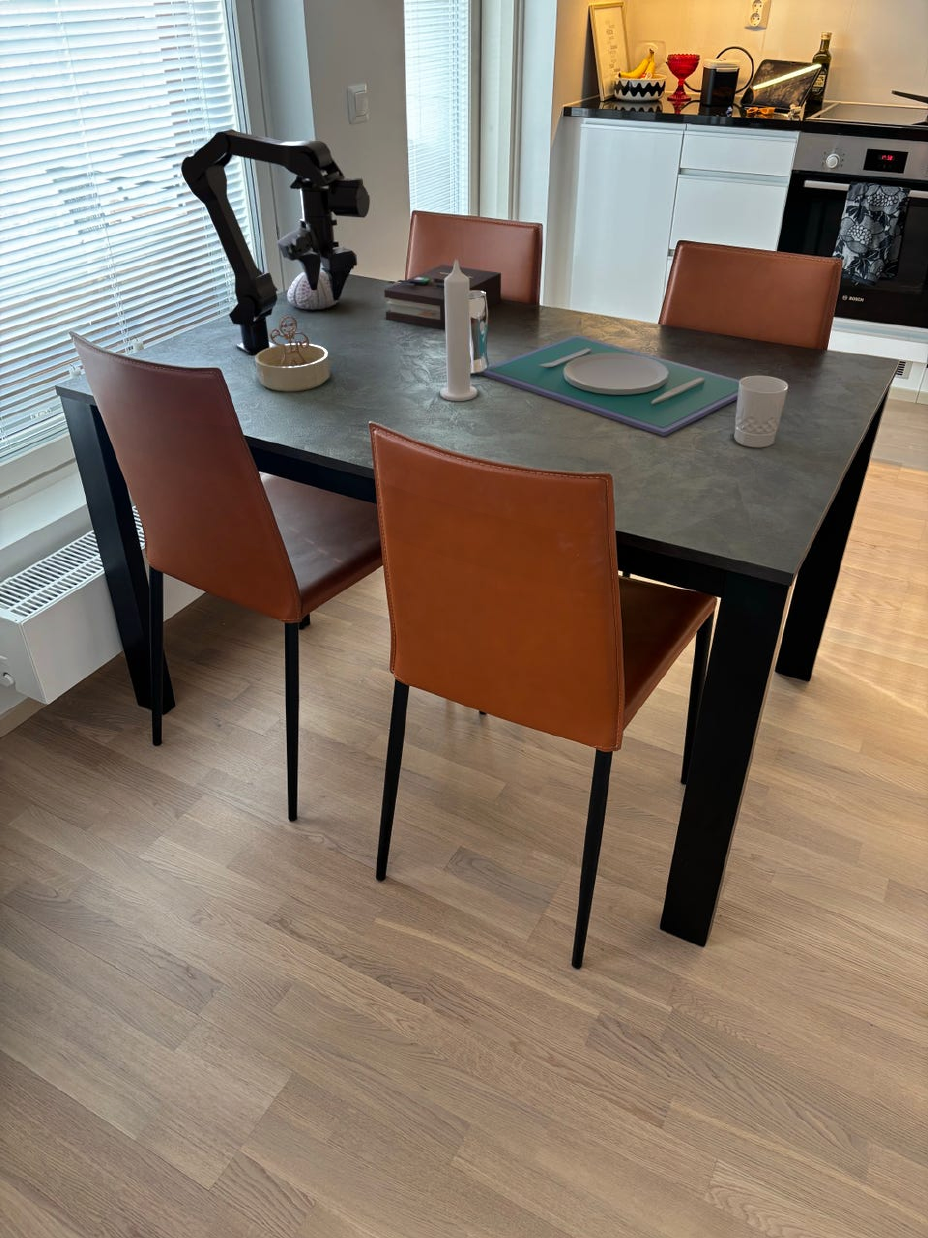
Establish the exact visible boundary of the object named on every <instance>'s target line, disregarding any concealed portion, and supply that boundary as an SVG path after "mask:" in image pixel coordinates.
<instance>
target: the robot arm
mask: <svg viewBox="0 0 928 1238" xmlns="http://www.w3.org/2000/svg"><path fill="white" fill-rule="evenodd" d="M234 156H235V157H240V158H245V159H250V160H254V161H258V162H264V163H268V164H272V165H277V166H279V167H281V168H284V169H285V170H286V171H288V172H289V174H293V175H295V176H296V177H295V178H294V180H293V181H292V182H291V183H290V184H289V188H290V189H291V190H299V191H300V200H301V212H302V218H300V219H299V221H298V223H297V224H298V228H297V229H296V230H293V231H291V232H289V233H288V234H286V235H285V236H283V237H281V238H279V239H278V240H277V241H276V244H277V245H278V246H277V247H278V248H279V250H280V252H281V254H282V257H283V258H284V259H288V260H289V261H293V262H294V261H297V262H298V263H299V264H300V265H301V267H302V270H303V272H305V275H306V277H307V280H308V283H309V285H310V288H311V290H312V291H314V290H317V286H318V280H319V273H320V271H321V270H322V272H324V273H327V274H328V277H329V282H330V287H331V293H332V297H333V300H334V301H337V300H338V301H340V300H339V298H340V299H341V297H340V295H342V294H343V290H344V287H345V285H346V283H347V279H348V278H349V275H350V273H351V271H352V270H353V269H354V268H355V267H356V266H357V265H358V258H357V257H358V256H357V253H356V252H355V251H353V250H351V249H349V248H346V247H340V244H339V243H340V242H339V241H338V240H336V239H335V231H334V226H335V227H336V226H338V219H337V218H333V214H334V216H337V217H350V218H362V219H363V218H366V217H367V215H369V210H370V203H371V199H370V198H371V197H370V195H369V192H368V189H367V187H366V186H365V185H364V179H363V178H362V177H361V178H360V177H356V178H355V177H354V178H346V176H345V175H344V173H343V171H342V170H341V168H340V167H339V166H338V164H337V162H336V161H335V160H334V158H333V155H332V153H331V150H330V149H329V147H328V144H326V143H325V142H323V141H321V140H301V141H300V140H299V141H284V140H280V139H274V138H270V137H264V136H260V135H255V134H251V133H246V132H241V131H237V130H235V129H233V128H227V129H223V130H220V131H217V132H215V134H214V135H213V136H212V137H211V138H210V139H209V141H207V142H206V143H205V144H203V146H201V147H200V148H199V149H198V150H196V151H195V153H193V154H191V155H187V156H186V157H184V158H183V160H182V161H181V166H180V173H181V176H182V178H183V181H184V183H185V184H186V185H187V187H188V189H189V191H190V193H192V194H193V196H194V197H195V198H197V199H198V201H200V202H201V204H203V206H204V207H205V209H206V210H205V211H206V212H207V214H208V217H209V219H210V221H211V224H212V226H213V228H214V231H215V233H216V236H217V237H218V241H219V242H220V244H221V247H222V249H223V252H224V254H225V256H226V258H227V261H228V263H229V265H230V268H231V270H232V272H233V276H234V295H235V298H236V300H237V304H236V305H235V306H234V308H233V309H232V310H231V311H230V313H229V314H228V315H229V318H230V321H231V322H232V324H233V325H238V326H239V330H240V336H241V343H237V344H236V348H238V349H240V350H241V351H243V352H245V353H247V354H248V355H252V354H256V353H257V354H258V353H259V352H261V351H262V350H265V349H267V348H270V347H274V346H277V344H275V343H273V342H270V336H269V331H268V323H267V317H270V316H271V315H272V314H273V309H274V307H275V306H276V304H277V301H278V293H277V291H279V289H278V288H277V286H276V285H275V283H274V281H273V277H272V274H271V272H269V271H267V272H265V273H263V271H261V269H259V267H258V266H257V264H256V262H255V259H254V258H253V255H252V252H251V250H250V247H249V246H248V243H247V241H246V238H245V236H244V233H243V231H242V228H241V226H240V224H239V221H238V220H237V219H238V218H237V217H236V215H235V212H234V210H233V208H232V205H231V203H230V200H229V198H228V177H227V174H226V171H225V168H226V167H227V166H228V165H229V164H230V163H231V162H232V159H233V158H234ZM321 265H322V267H321ZM341 293H342V294H341Z"/></svg>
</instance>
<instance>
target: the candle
mask: <svg viewBox="0 0 928 1238" xmlns="http://www.w3.org/2000/svg"><path fill="white" fill-rule="evenodd" d="M453 266H454V268H453V271H452V273H451V274H449V275H448V276H447V277H446V278H445V279H444V292H445V329H444V331H445V361H446V362H445V363H446V364H445V365H446V366H445V367H446V369H445V370H446V386H443V387H442V388H441V389H440V391H439V392H440V397H441V398H442V399H444V400H448V401H451V402H465V401H469V400H470V401H471V400H472V399H474V398H476V397H477V396H478V390H477V388H476V387H475V386H474V385H473V386H472V385H471V374H470V306H469V278H468V277H467V276H465V275H464V274H463V273H462V272H461V270H460V268H459V267H460V265H459V260H458V259H455V260H454V263H453Z"/></svg>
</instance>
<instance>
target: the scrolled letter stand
mask: <svg viewBox="0 0 928 1238" xmlns="http://www.w3.org/2000/svg"><path fill="white" fill-rule="evenodd" d="M286 319H291V320H292V321H293V322H292V321H289V322H288V323H286V322H284V321H285V320H286ZM288 327H290V328H289V329H285V328H288ZM278 329H279V330H278ZM278 329H277V328H271V329H270V331H269V339H270V340H271V341H272V343H273V344H274V345H276V346H278V345H279V346H283V350H284V356H283V359H282V361H281V364H280V367H283V364H284V361H285V358H286V355H287V354H288V355H289V354H291V353H296V352H297V353H298V355H299V356H300V357H301V359H302V360H303V361H302V363H300V364H297V362H296V361H295V360H294V358H293V357H291V358H290V361H289V364H288V367H290V366H291V364H292V361H293V362H294V363H295V364H296V366H301V365H304V363H305V364H307V362H306V361H305V360H304V358H303V357H302V355H301V354H300V353H299V349H298V344H299V345H300V347H302V348H307V347H308V346H309V344H310V340H309V337H308V336H307V335H306V334H305V333H304V332H302V331H297V329H298V323H297V319H295V318H294V317H293V316H290V315H285V316H283V317H282V318H281V319H280V321H279V322H278ZM275 331H276V333H275ZM273 333H274V334H273ZM281 333H282V334H281ZM299 334H300V335H302V336H304V339H302V341H300V340H297V339H296V340H294V339H295V335H299ZM277 337H280V338H284V339H285V340H286V341H287V344H290V346H289V349H290V350H291V351H290V350H289V351H287V352H286V347H285V344H286V343H285V342H283V343H278V342H276V341H275V340H274V339H275V338H277ZM292 339H293V340H294V344H296V349H295V350H293V351H292V349H293V347H292V344H293V340H292ZM302 344H306V346H302Z"/></svg>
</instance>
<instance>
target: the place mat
mask: <svg viewBox="0 0 928 1238" xmlns="http://www.w3.org/2000/svg"><path fill="white" fill-rule="evenodd" d="M489 366H490V365H489ZM480 375H482V376H484V377H488V378H490V379H493V380H497V381H499V382H502V383H506V384H508V385H511V386H514V387H517V388H520V389H523V390H526V391H528V392H532V393H534V394H536V395H540V396H544V397H547V398H549V399H552V400H555V401H559V402H561V403H564V404H567V405H570V406H573V407H576V408H578V409H581V410H585V411H588V412H591V413H593V414H597V415H600V416H603V417H605V418H609V419H611V420H614V421H617V422H621V423H623V424H626V425H629V426H633V427H635V428H638V429H642V430H643V431H647V432H650V433H654V434H656V435H659V436H662V437H665V436H668V435H670V434H671V433H673V432H676V431H677V430H679V429H681V428H683V427H685V426H687V425H689V424H691V423H693V422H695V421H697V420H698V419H699V420H700V419H701V418H703V417H704V416H707V415H709V414H711V413H712V412H714V411H717V410H718V409H719V410H720V408H723V407H724V406H726V405H728V404H730V403H732V402H734V401H737V398H738V389H739V381H740V380H741V379H736V378H732V377H730V376H726V375H722V374H719V373H715V372H711V371H708V370H704V369H700V368H697V367H693V366H690V365H686V364H682V363H679V362H676V361H672V360H668V359H666V358H661V357H658V356H655V355H651V354H647V353H644V352H640V351H636V350H633V349H630V348H625V347H622V346H618V345H615V344H611V343H608V342H604V341H601V340H597V339H593V338H589V337H587V336H582V335H579V334H574V335H571V336H569V337H567V338H563V339H560V340H558V341H556V342H553V343H549V344H548V345H545V346H542V347H539V348H536V349H533V350H531V351H528V352H525V353H523V354H521V355H518V356H515V357H512V358H509V359H506V360H504V361H502V362H498V363H496V364H493V365H491V366H490V369H489V370H488V371H486V372H484V373H481V374H480Z"/></svg>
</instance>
